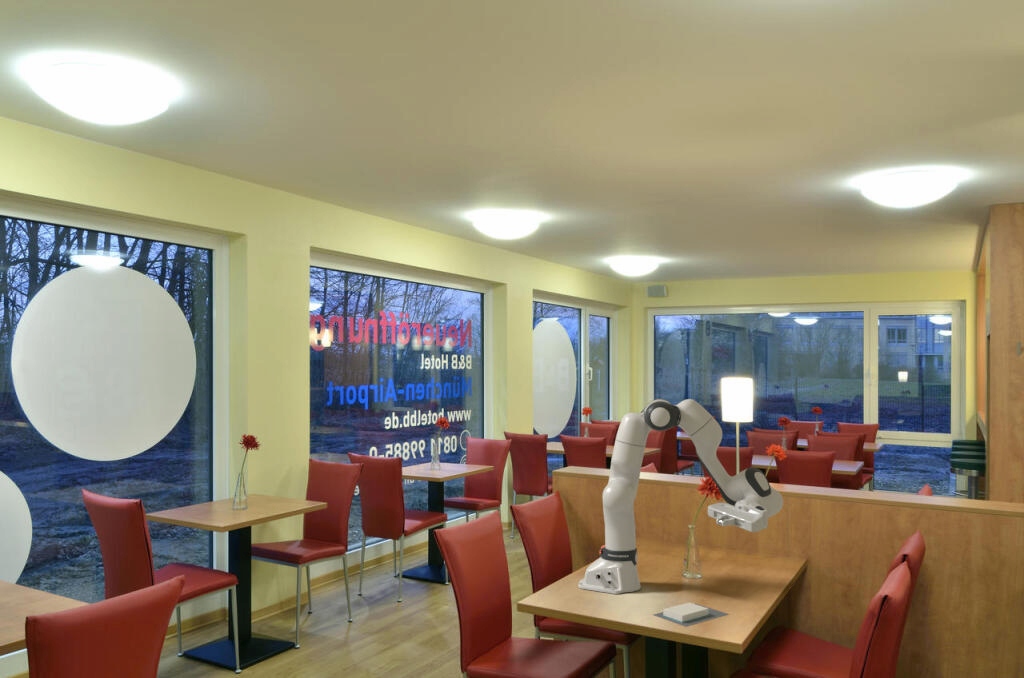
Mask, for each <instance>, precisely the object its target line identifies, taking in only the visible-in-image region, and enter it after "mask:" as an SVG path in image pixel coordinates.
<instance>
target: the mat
mask: <svg viewBox="0 0 1024 678" xmlns="http://www.w3.org/2000/svg"><path fill="white" fill-rule="evenodd" d="M695 604H696V605H699V606H702V607H705V608H708V611H709V616H705V617H702V618H698V619H695V620H691V621H687V622H684V623H681V622H678V621H675V620H673V619H670V618H667V617H664V616H663V611H662V612H657V613H654V614H653V616H654V617H657V618H660V619H663V620H666V621H667V622H672V623H673V624H677V625H680V626H682V627H687V628H688V627H690V626H693V625H694V626H695V625H698V624H701V623H704V622H708V621H710V620H714V619H715V620H716V619H718V618H721V617H725V616H728V615H730V614H729V613H726V612H723V611H719V610H717V609H714V608H710V607H707V606H705V605H702V604H698V603H695Z"/></svg>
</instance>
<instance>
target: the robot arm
mask: <svg viewBox="0 0 1024 678" xmlns="http://www.w3.org/2000/svg"><path fill="white" fill-rule="evenodd" d="M674 427H679V428H680V429H681V430H683V431H684V432H685V434H686V435H687V436H688V437H689V439H690V440H691V442H692V443H693V445H694V446H695V447H694V448H695V454H696V456H697V458H698V460H699V462H700V463H701V464H702V466H703V468H704V469H705V471H706V472H707V473H708V475H709V477H710V478H711V480H712V481H713V482H714V484H715V486H716V487H717V489H718V491H719V492H720V495H721V497H722V499H723V500H724V501H725V502H717V503H712V504H710V505H708V506H707V516H708V517H709V518H713V519H715V521H716V522H715V523H716V525H719V526H721V527H726V526H727V527H728V526H734V527H736V528H739V529H742V530H745V531H748V532H750V533H756V532H757V533H758V532H760V531H762V530H765V529H767V528H768V524H769V518H772V517H773V516H776V515H777V514H778V513H780V511H781V510H782V509H783V506H784V498H783V496H782V494H781V493H780V492H779V491H778V490H777V489H775V488H773V487H772V486H771V484H770V482H769V480H768V478H767V476H766V474H765V473H764V472H763V471H762V470H760V469H759V468H757V467H753V466H750V467H747V468H745V469H744V470H741V471H740V472H738V473H737V474H735V475H733V476H731V475H729V473H728V472H727V471H726V469H725V468H724V466H723V465H722V463H721V462H720V460H719V458H718V455H717V450H718V448H719V446H720V444H721V442H722V440H723V429H722V427H721V425H720V424H719V422H718V421H717V419H715V418H714V416H713V415H712V414H710V412H709V411H708V410H706V409H705V408H704V406H702V405H701V404H700V403H699V402H697V401H696V400H695V399H692V398H688V399H683V400H682V401H680V402H678V403H677V404H672V403H671V402H670V401H668V400H666V399H663V398H655V399H653V400H651V401H650V402H648V403H647V404H646V406H645V407H644V408H643V409H642V411H641V412H628V413H626V414H624V415H623V416H622V418H621V421H620V423H619V426H618V428H617V429H618V430H617V433H616V435H615V441H614V445H613V446H614V447H613V450H612V453H611V454H612V455H611V458H610V459H611V461H610V469H609V477H608V483H607V484H606V486H605V488H603V491H602V493H601V494H602V496H601V498H602V510H603V520H604V521H603V522H604V540H605V542H604V543H605V544H604V545H602V546H601V547H600V549H599V558H597V559H595V560H594V561H593V562H591V564H590V565H588V567H587V568H586V570H585V573H584V577H583V578H582V579H580V580H579V581H578V584H577V585H578V588H579V589H582V590H587V591H588V590H589V591H595V592H601V593H607V594H613V595H619V594H624V593H632V592H636V591H639V590H641V588H642V586H641V582H640V579H639V574H638V573H639V572H638V567H637V566H638V565H637V564H638V549H637V543H636V542H637V541H636V537H637V535H636V534H637V533H636V520H635V509H634V507H635V506H634V505H635V503H634V502H635V500H636V499H637V498H636V497H637V493H638V489H639V488H638V487H639V482H640V478H641V477H640V476H641V471H642V470H641V469H642V464H643V459H644V456H645V455H644V454H645V450H646V446H647V441H648V440H647V439H648V436H649V434H650V433H651V431H652V430H653V431H657V432H664V431H668V430H670V429H673V428H674Z"/></svg>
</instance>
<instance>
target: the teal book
mask: <svg viewBox="0 0 1024 678" xmlns="http://www.w3.org/2000/svg"><path fill="white" fill-rule="evenodd" d="M696 604H697V603H693V602H685V603H682V604H678V605H674V606H670V607H667V608H663V609H662V612H663V616H664V617H667V618H670V619H673V620H675V621H678V622H681V623H684V622H687V621H691V620H695V619H698V618H702V617H705V616H709V611H708V608H709V607H708V608H705V607H706V606H705V607H702V606H703V605H702V606H699V605H700V604H699V605H696Z"/></svg>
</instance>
